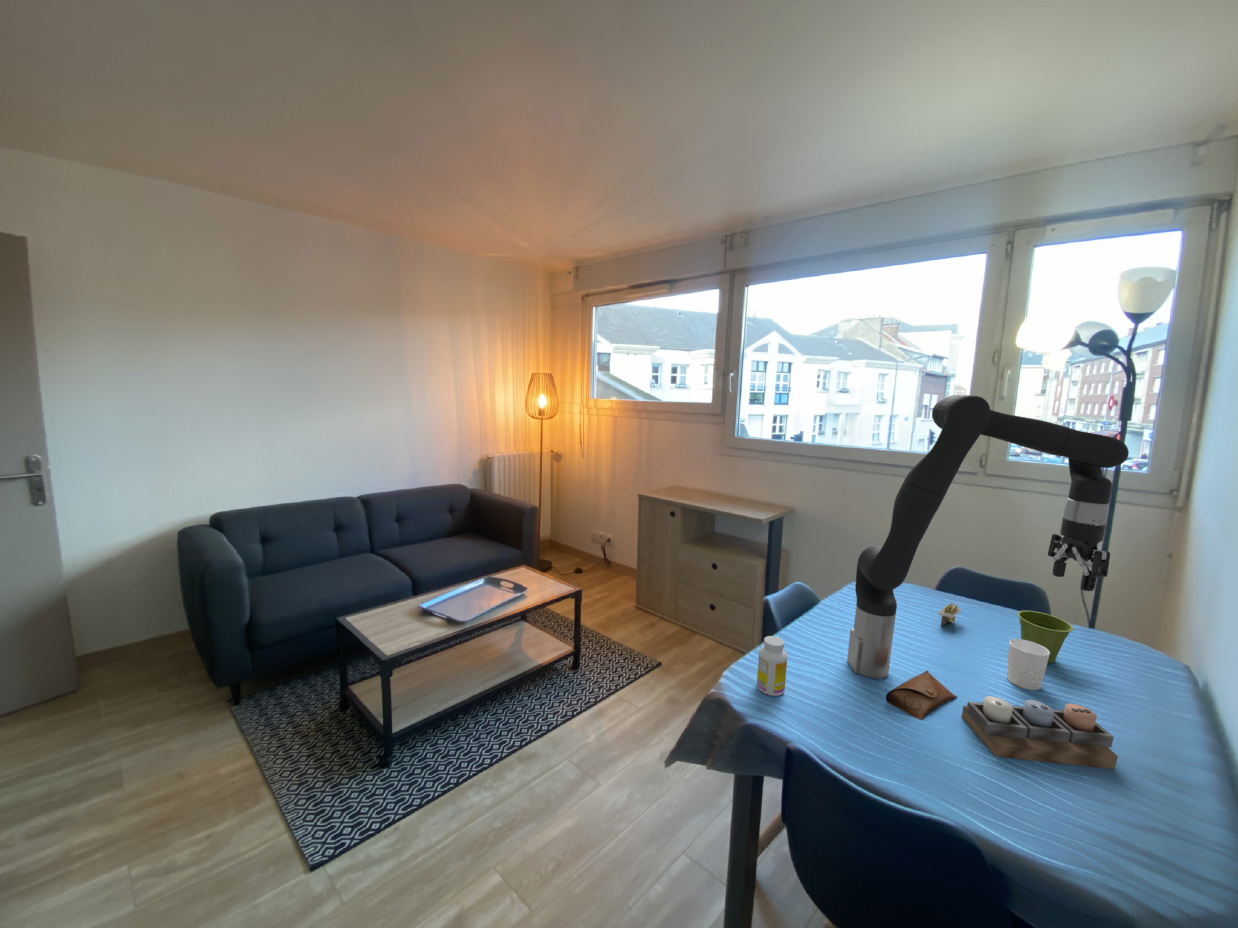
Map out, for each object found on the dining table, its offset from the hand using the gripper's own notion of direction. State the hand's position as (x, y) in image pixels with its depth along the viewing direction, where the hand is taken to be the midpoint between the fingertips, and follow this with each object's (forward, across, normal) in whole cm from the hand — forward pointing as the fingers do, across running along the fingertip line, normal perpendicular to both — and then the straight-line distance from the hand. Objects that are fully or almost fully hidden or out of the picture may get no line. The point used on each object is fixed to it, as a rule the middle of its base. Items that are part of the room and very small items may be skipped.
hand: (1071, 583), depth 117 cm
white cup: (+28, -2, -6) cm, 29 cm away
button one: (+23, +21, -27) cm, 42 cm away
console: (+28, +21, -19) cm, 40 cm away
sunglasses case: (+29, +9, -36) cm, 47 cm away
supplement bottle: (+29, +11, -72) cm, 78 cm away
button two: (+23, +21, -19) cm, 37 cm away
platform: (+29, -32, -7) cm, 44 cm away
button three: (+23, +21, -11) cm, 33 cm away
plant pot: (+28, -15, +8) cm, 33 cm away
